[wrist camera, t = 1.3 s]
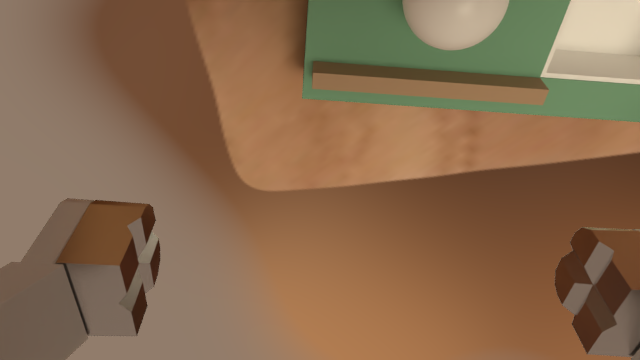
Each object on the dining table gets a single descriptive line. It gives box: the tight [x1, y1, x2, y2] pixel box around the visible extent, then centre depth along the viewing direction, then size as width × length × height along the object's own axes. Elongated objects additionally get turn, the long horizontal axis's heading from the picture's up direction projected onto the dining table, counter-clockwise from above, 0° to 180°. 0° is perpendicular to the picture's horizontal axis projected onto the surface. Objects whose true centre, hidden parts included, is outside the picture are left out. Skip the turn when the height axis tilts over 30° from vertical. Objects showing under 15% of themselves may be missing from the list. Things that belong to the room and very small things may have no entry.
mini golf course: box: [302, 0, 640, 122], centre depth 22 cm, size 17×24×19 cm
